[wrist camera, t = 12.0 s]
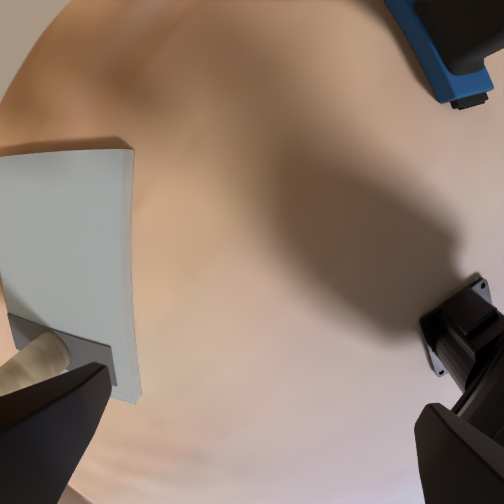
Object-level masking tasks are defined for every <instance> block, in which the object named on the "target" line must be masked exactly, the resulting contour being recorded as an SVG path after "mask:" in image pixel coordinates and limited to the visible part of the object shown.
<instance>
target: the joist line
mask: <svg viewBox="0 0 504 504" xmlns="http://www.w3.org/2000/svg"><path fill="white" fill-rule="evenodd" d="M7 315H8V319H9V323H10V327H11V331H12V335H13V339H14V342H15V346H16V349H18V350H20V351H21V350H22V349H23V348H24V347H26V346H27V345H28V344H29V343H31V342H32V341H33V340H34V339H36V338H37V337H38V336H40V335H41V334H42V333H43V332H45V331H50V332H53V333H55V334H56V335H58V336H59V337H60V338H61V339H62V340H63V341H64V342H65V344H66V345H67V347H68V349H69V351H70V355H71V362H70V364H69V365H68V366H67V367H66V368H65V370H68V371H71V370H73V369H76V368H78V367H81V366H83V365H86V364H89V363H91V362H99V363H102V364H105V365H107V366H108V368H109V373H110V379H111V384H112V386H115V387H117V386H118V385H117V380H116V374H115V368H114V362H113V356H112V349H111V346H108V345H104V344H100V343H97V342H93V341H90V340H87V339H83V338H80V337H77V336H73V335H70V334H67V333H64V332H61V331H58V330H55V329H52V328H49V327H46V326H43V325H40V324H37V323H34V322H32V321H29V320H26V319H24V318H21V317H18V316H16V315H13V314H11V313H7Z"/></svg>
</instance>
